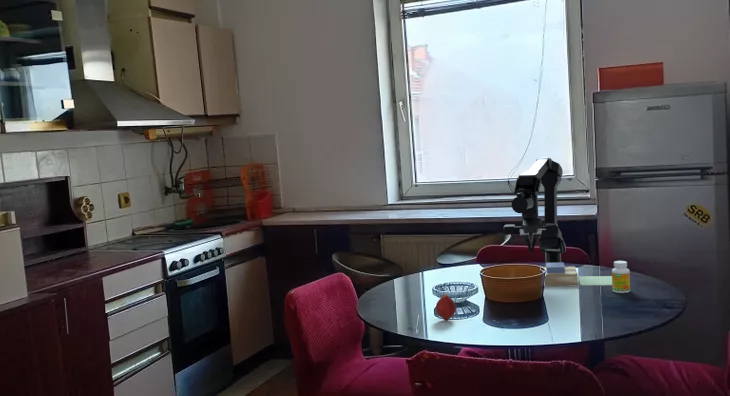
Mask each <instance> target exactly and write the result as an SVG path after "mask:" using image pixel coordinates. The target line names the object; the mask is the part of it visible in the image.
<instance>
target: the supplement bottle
mask: <svg viewBox="0 0 730 396" xmlns="http://www.w3.org/2000/svg"><path fill="white" fill-rule="evenodd" d="M613 267H614V268H612V269H611V276H612V286H611V287H612V292H614V293H616V294H626V293H629V292H631V280H630V269H629V268H627V267H628V262H627V261H625V260H615V261H613Z"/></svg>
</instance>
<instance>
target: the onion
mask: <svg viewBox="0 0 730 396" xmlns="http://www.w3.org/2000/svg"><path fill="white" fill-rule="evenodd" d="M435 311H436V314H437V315H438V316H439V317H440V318H442V319H443V320H444V321H448V320H450V319H451V318H452V317H453V316H454V315H455V314H456V311H457V306H456V303H455V302H454V300H453V299H452V297H450V296H449V295H447V294H446V293H443V294H442V297H440V299H438V301H437V302H436V305H435Z"/></svg>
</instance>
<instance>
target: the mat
mask: <svg viewBox="0 0 730 396" xmlns="http://www.w3.org/2000/svg"><path fill="white" fill-rule="evenodd" d="M578 281H579V283H580V286H582V287H588V286H589V287H593V286H594V287H595V286H597V287H599V286H602V287H603V286H604V287H607V286H610V287H612V275H605V276H604V275H601V276H600V275H598V276H597V275H593V276H592V275H590V276H589V275H588V276H587V275H586V276H580V275H579V276H578Z"/></svg>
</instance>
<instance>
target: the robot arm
mask: <svg viewBox="0 0 730 396" xmlns="http://www.w3.org/2000/svg"><path fill="white" fill-rule="evenodd" d="M563 171H564V170H563V167H562V166H561V164H560V163H559V162H556V161H554V160H552V158H550V157H538V158H536V161H535V162H534V163H533V164H532V166H531V168H529V170H527V171H523V172H522V173H520V174H519V175H518V177H516V180H515V181H516V182H515V187H514V192H513V194H514V195H516V197H514V199H513V200H512V201H511V208H512V210H513V211H514V212H515V213H517V214H521V226H516V225H515V224H504V226H503V229H502V231H503V232H502V233H503V235H504V236H505V235H506V236H507V235H514V233H520V234H519V237H522V238H523V239H524V241H525V242H526V244H527V248H528V251H529V253H530V254H533V253H534V249H535V247H536V244H537V243H536V242H537V241H538V245H539V252H540V253H544V254H545V255H544V256H545V264H544V267H546V263H562V255H561V254H563V253H566V251H567V248H566V247H567V246H566V243H565V241H564V238H563V236H562V234H563V233H562V231H561V230H560V228H559V225H558V186H559V185H560V183H561V182H562V177H563ZM541 186H542V187H543V191H544V193H543V194H544V195H543V196H544V198H543V200H544V207H543V209H544V210H543V211H544V215H543V216H544V219H543V218H539V200H538V195H539V192H540V188H541ZM530 234H532V236H531V238H530Z"/></svg>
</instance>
